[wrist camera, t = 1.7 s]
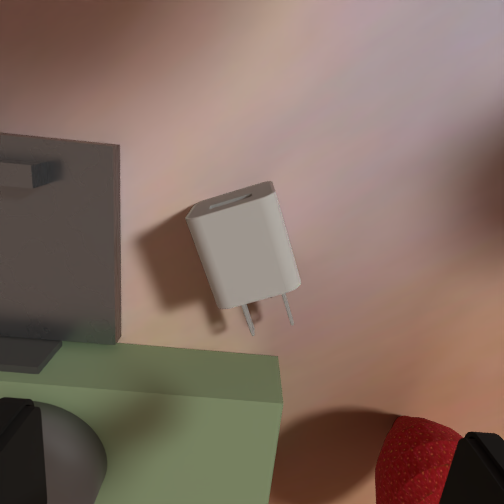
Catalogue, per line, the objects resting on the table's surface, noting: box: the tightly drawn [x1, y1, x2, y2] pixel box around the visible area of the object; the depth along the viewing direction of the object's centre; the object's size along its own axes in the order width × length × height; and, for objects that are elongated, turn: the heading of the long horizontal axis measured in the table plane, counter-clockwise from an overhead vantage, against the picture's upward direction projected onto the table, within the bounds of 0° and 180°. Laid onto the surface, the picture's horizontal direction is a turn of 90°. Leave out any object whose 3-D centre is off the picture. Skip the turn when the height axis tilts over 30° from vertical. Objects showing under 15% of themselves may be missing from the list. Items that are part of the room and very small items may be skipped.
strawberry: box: [375, 416, 463, 504], centre depth 20 cm, size 6×8×10 cm
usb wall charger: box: [185, 181, 301, 336], centre depth 19 cm, size 4×7×4 cm, turn 17°
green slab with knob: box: [0, 336, 283, 504], centre depth 21 cm, size 9×24×6 cm, turn 84°
